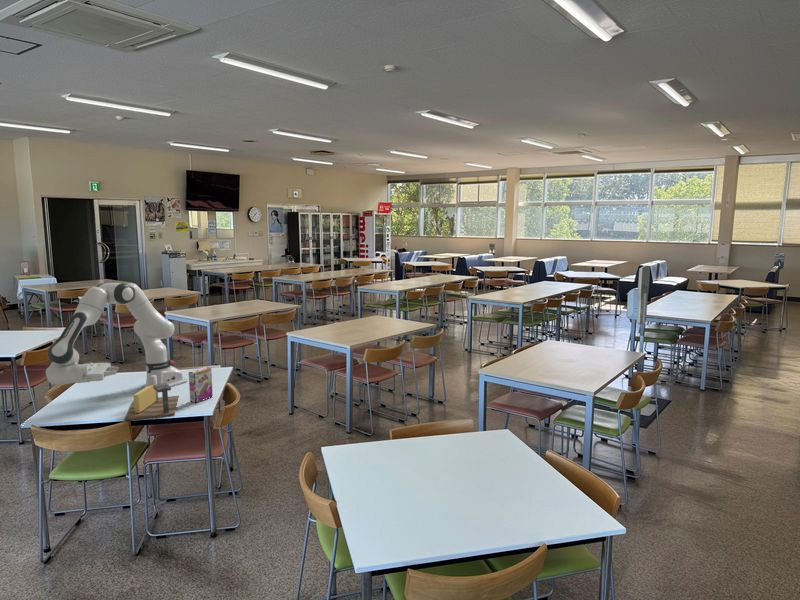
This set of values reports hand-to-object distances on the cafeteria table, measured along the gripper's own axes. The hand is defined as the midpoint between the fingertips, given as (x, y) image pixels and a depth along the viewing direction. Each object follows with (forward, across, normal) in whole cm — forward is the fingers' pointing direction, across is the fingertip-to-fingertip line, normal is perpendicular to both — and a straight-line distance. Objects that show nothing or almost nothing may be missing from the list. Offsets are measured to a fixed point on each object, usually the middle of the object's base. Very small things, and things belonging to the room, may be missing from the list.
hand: (117, 370), depth 261 cm
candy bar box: (+37, +8, +22) cm, 44 cm away
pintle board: (+14, +2, +22) cm, 26 cm away
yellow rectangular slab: (+11, +3, +21) cm, 24 cm away
